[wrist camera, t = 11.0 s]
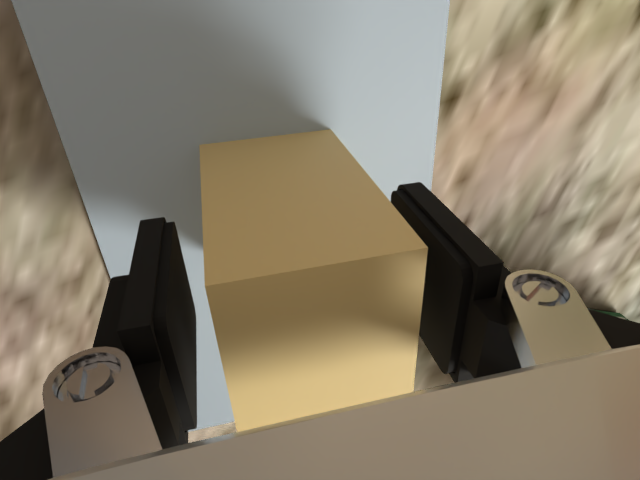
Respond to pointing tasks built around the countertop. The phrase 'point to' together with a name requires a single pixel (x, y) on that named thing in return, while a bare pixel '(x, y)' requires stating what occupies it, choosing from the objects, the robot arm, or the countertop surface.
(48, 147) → the countertop surface
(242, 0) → the lid
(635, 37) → the countertop surface
